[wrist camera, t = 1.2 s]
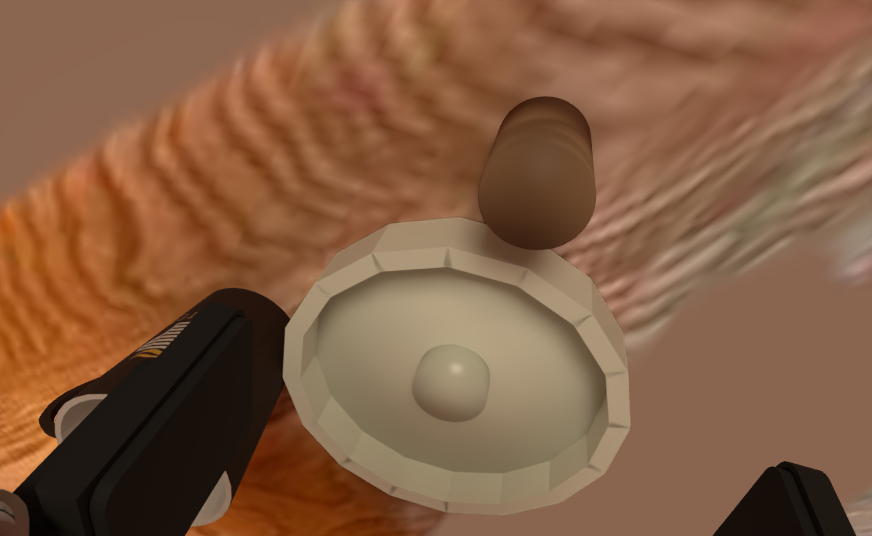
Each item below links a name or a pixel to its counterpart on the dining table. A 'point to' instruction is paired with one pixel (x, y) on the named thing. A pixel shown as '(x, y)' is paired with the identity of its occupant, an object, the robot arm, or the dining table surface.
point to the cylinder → (539, 176)
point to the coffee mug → (88, 395)
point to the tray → (459, 369)
